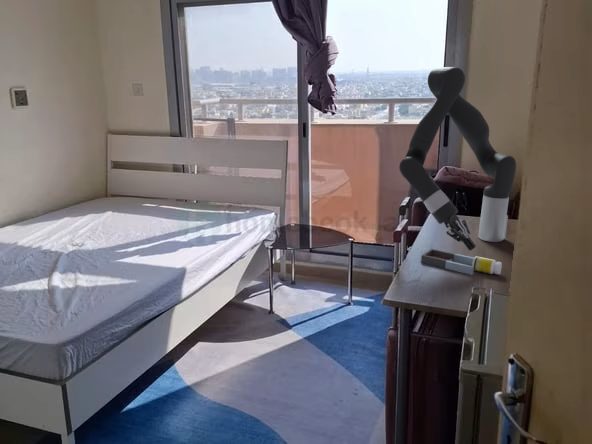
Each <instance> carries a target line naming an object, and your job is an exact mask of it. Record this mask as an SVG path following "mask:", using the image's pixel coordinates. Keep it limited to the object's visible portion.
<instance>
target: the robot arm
mask: <svg viewBox="0 0 592 444" xmlns="http://www.w3.org/2000/svg"><path fill="white" fill-rule="evenodd" d="M465 81H466V76H465V73H464V71H463V70H462V69H461V68H459V67H456V66H445V67H444V66H443V67H442V66H441V67H436V68H434V69H432V70H431V71H430V72H429V74H428V76H427V85H428V88H429V90H430V92H431V93H432V95H433V96H434V97H435V99H436V101H435V103H434V104H433V105H432V106H431V108H430V109H429V110H428V112H427V113H426V114H425V115H424V116H423V117H422V119H421V120H420V121H419V123H418V124H417V125H416V127H415V130H414V132H413V134H412V137H411V139H410V141H409V144H408V145H409V146H408V150H407V152H406V155H405V157H404V158H403V159H402V160H401V161H400V162H399V165H398V166H399V168H398V169H399V173H400V175H401V176H402V177H403V178H404V179H405V180H406V181H407V182H408V183H409V184H410V186H412V187H413V189H414V192H415V193H416V195H417V196H418V197H419V199H420V200H421V201H422V203H423V205H425V207H426V209H427V210H428V211H429V212H430V214H431V216H433V218H434V219H435V221H436V222H437V223H438V224H440V225H441V224H444V225H445V228H446V229H447V231H446V235H448V236H449V237H451V238H452V239H453V240H455V241H457V242H458V243H459V242H461V243H463V244H464V245H465V246H466V248H467V249H468V251H473V250H474V249H475V248H476V246H477V245H476V244H475V242H474V241H473V240H472V239H471V237H470V234H471V231H470V229H469V227H468V224H467V221H466V220H465V219H463V220H461V219H460V217H459V216H457V215H456V214H458V211H459V210H458V209H457V207H456V206H455V205H454V203H453V201H451V199H450V198H449V197H448V196H447V195H446V193H444V191H442V190H441V188H440V186H438V185H437V183H436V182H435V181H434V180H433V178H431V177H430V175H429V173H428V172H427V171H426V169H425V167H424V163H425V161H426V158H427V155H428V154H429V152H430V149H431V147H432V144H433V142H434V140H435V138H436V135H437V134H438V131H439V129H440V128H441V125H442V124H443V122H444V119H445V118H446V116H447V115H448V116H449V117H450V118H451V120H452V121H453V123H454V125H455V126H456V128H457V129H458V131H459V133H460V134H461V135H462V137H463V138H464V140H465V141H466V142H467V144H468V146H469V148H470V149H471V150H472V152H473V153H474V155H475V158H476V160H477V161H478V163H479V166H480V168H481V170H482V171H483V173H484V174H485V175H486V176H488V177H491V178H494V181H493V184H492V185H487V186H485V187H484V189H483V196H482V204H481V213H480V219H479V227H478V235H477V237H478V239H480V240H481V241H485V242H491V243H498V242H503V241H504V240H505V239H506V233H507V228H508V227H507V226H508V220H509V215H508V214H507V213H508V207H509V200H510V199H509V198H510V193H511V192H512V190H513V186H514V181H515V177H516V172H517V171H516V170H517V162H516V159H515V158H514V157H513V156H511V155H508V154H504V153H500V152H497V151H496V150H495V149H494V147H493V146H492V145H491V143H490V139H489V137H490V127H489V124H488V122H487V121H486V118H485V117H484V115H483V114H482V112H481V111H479V109H477V108H476V106H475V105H473V104H471V102H469V101H468V100H467V99H465V98H464V97H463V96H462V95H460V94H461V92H462V90H463V88H464V85H465Z"/></svg>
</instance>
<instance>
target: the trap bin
mask: <svg viewBox="0 0 592 444" xmlns="http://www.w3.org/2000/svg"><path fill="white" fill-rule="evenodd" d="M454 254H455V253H453V252H448V251H443V250H439V249H434V248H430V249H429V250H427V251H426V252H424V253H422V255H421V258H420V259H421V260H420V262H421V263H422V262H423V264H426V263H427V265H431V266H435V267H440V268H444V269H445V264H446V261H447V260H448V261H452V262H454Z"/></svg>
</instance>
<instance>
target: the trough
mask: <svg viewBox="0 0 592 444" xmlns="http://www.w3.org/2000/svg"><path fill="white" fill-rule="evenodd" d="M453 254H454V261H453V262H452V261H448V260H447V261H446V264H445V268H444V269H445V270H446V269H447V270H450V271H454V272H459V273H463V274H467V275H470V276H473V275H474V271H475V270H474V266H472V263H473V259H474V257H475V256H474V257H473V256H467V255H463V254H459V253H453Z"/></svg>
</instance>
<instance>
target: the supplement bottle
mask: <svg viewBox="0 0 592 444" xmlns="http://www.w3.org/2000/svg"><path fill="white" fill-rule="evenodd" d="M471 266H474V271H475V272H476V271H477V272H481V273H485V274H490V275H493V274H495V275H501V272H502V267H503V263H502V262H501V261H497V260H495V259H494V258H493V259H492V258H487V257H481V256H477V255H476V256H474V259H473V263H472V265H471Z"/></svg>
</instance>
